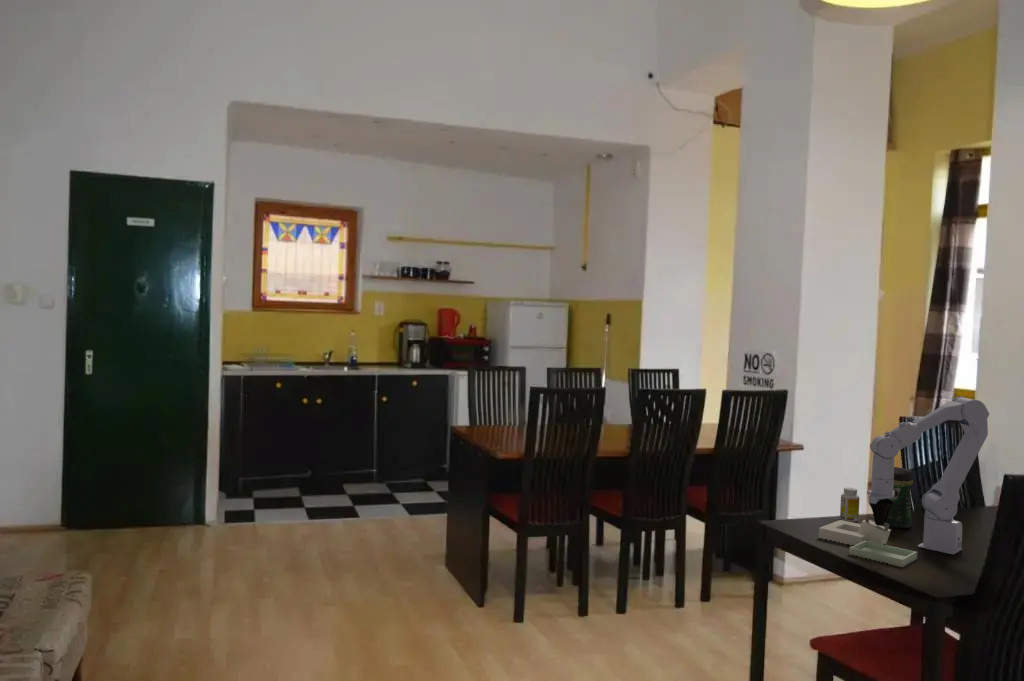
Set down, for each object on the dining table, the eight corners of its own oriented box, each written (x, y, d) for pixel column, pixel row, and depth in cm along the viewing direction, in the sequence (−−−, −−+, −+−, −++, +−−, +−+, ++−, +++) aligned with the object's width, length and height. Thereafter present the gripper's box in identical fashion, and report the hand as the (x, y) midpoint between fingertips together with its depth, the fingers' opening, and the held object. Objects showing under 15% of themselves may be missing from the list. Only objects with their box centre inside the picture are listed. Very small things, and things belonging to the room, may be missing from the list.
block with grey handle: (886, 543, 233) (893, 523, 232) (880, 546, 230) (887, 526, 229) (862, 532, 238) (869, 512, 237) (857, 534, 235) (864, 514, 234)
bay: (881, 538, 240) (881, 528, 239) (861, 547, 229) (861, 537, 229) (839, 529, 248) (840, 519, 248) (818, 537, 238) (819, 527, 237)
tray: (916, 559, 219) (917, 551, 219) (902, 567, 211) (902, 559, 211) (864, 547, 229) (865, 540, 229) (848, 554, 221) (849, 547, 221)
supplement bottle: (861, 520, 260) (863, 489, 260) (853, 523, 257) (854, 491, 256) (845, 517, 265) (846, 486, 264) (836, 519, 261) (838, 488, 261)
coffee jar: (914, 526, 255) (917, 468, 255) (904, 530, 250) (907, 471, 249) (883, 520, 262) (885, 463, 262) (873, 524, 257) (876, 466, 256)
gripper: (878, 472, 240) (875, 518, 240) (858, 478, 230) (856, 526, 230) (902, 476, 235) (900, 522, 235) (884, 483, 225) (881, 531, 225)
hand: (880, 524), depth 232 cm, fingers closed on block with grey handle
